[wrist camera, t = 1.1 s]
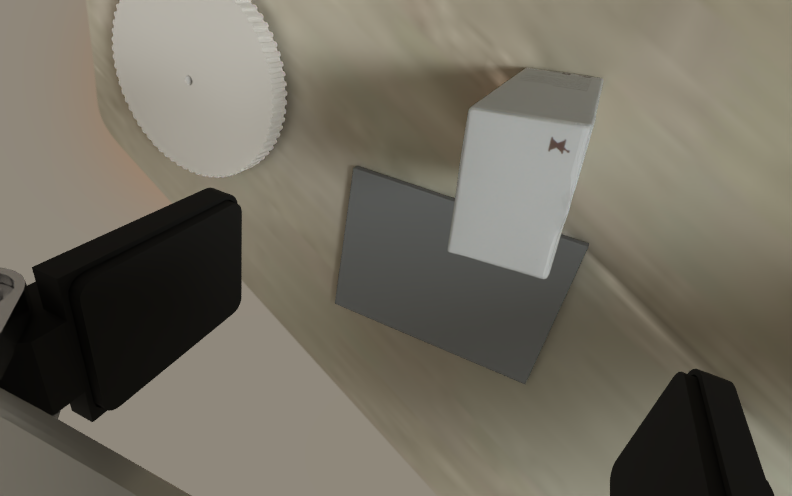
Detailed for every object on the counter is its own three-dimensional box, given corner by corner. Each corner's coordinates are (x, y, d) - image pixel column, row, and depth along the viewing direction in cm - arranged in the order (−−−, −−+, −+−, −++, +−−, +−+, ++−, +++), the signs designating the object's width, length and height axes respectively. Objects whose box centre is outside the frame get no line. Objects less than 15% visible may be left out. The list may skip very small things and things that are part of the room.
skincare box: (523, 65, 26) (467, 100, 16) (605, 76, 24) (598, 122, 15) (502, 170, 29) (443, 254, 19) (573, 185, 27) (550, 284, 18)
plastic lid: (264, -59, 29) (236, -64, 27) (315, 163, 34) (296, 173, 32) (114, -11, 35) (82, -12, 32) (179, 172, 40) (155, 181, 38)
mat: (588, 243, 28) (588, 246, 28) (526, 379, 35) (525, 384, 34) (356, 165, 32) (353, 167, 32) (338, 300, 39) (335, 303, 38)
